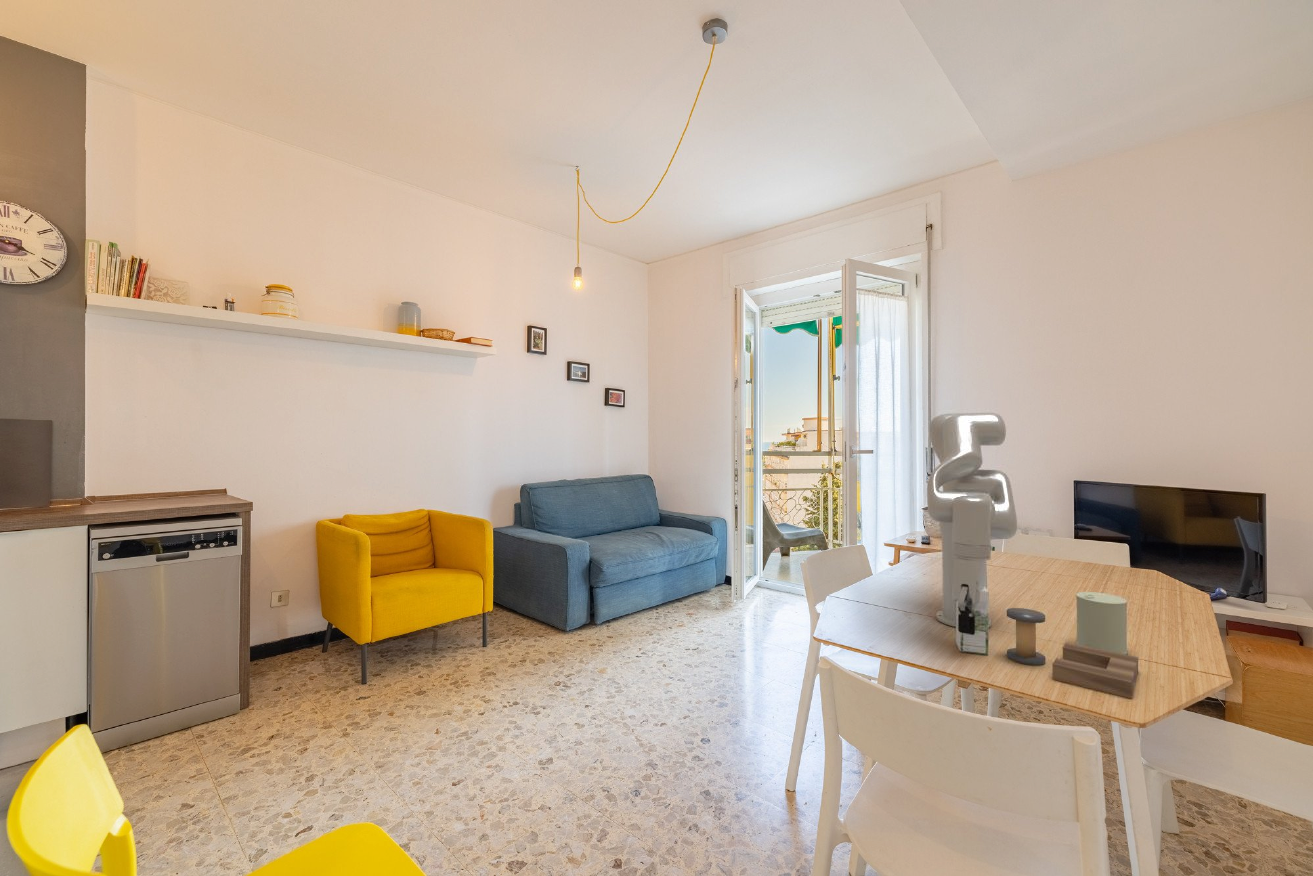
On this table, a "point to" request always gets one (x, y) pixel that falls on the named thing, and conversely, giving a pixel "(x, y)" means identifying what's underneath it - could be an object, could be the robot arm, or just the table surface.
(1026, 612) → the gray-flanged bobbin
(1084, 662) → the notched board
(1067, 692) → the table surface
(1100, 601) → the can
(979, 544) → the robot arm
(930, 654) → the table surface
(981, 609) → the syrup box
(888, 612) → the table surface
